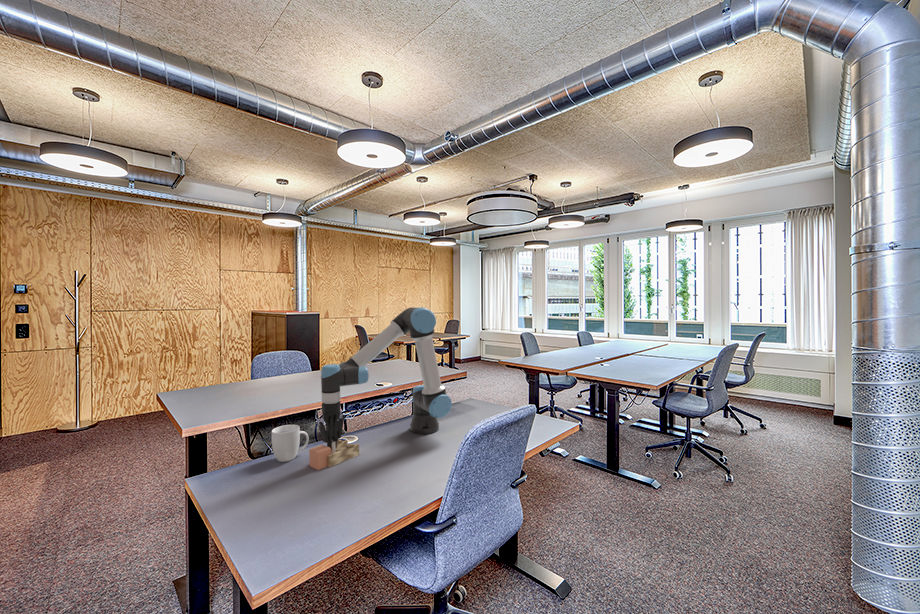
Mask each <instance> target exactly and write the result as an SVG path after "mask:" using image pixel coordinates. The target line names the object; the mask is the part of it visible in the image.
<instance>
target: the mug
mask: <svg viewBox="0 0 920 614" xmlns="http://www.w3.org/2000/svg"><path fill="white" fill-rule="evenodd" d="M300 429H301V428H300V425H298V424H285V425H280V426H278V427H274V428H273V429H272V430H271V448H272V452H273V456H274V457H275V458H276V460H277V461H278V462H280V463H285V462H290V461H293V460H294V459H295V458H296V457H297V454H298V452H301V451H303V450H304V449H305V448H306V447H307V446H308V445H309V441H310V440H309V439H310V437H309V435H308V433H307V432H306V431H303V430H300ZM302 434H303V435H305V439H306V440H305V443H304V444H303V445H302V447H300V441H301V440H300V439H301V437H300V436H301V435H302Z"/></svg>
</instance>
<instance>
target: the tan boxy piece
mask: <svg viewBox="0 0 920 614" xmlns="http://www.w3.org/2000/svg"><path fill="white" fill-rule="evenodd" d="M359 455H360V444H359V443H356V444H354V443H348V440H347V439H346V440H342V439H340V438H339V439H338V441H337V448H336V453H333V454H331V455H328V466H327V468H331V467H334V466H336V465H338V464H341V463H343V462H346V461H348V460H350V459H353V458H354V457H358V456H359Z"/></svg>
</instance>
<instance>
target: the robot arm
mask: <svg viewBox="0 0 920 614" xmlns="http://www.w3.org/2000/svg"><path fill="white" fill-rule="evenodd" d="M436 318H437V317H436V316H435V313H434V312H433V311H432V310H431V309H429V308H425V307H408V308H406V309H404V310H403V311H401V312H400V313H398V315H397V316H396V317H394V318H393V319H392V320H391V321H390V323H389V325H388V326H387V327H386V328H384V329H383V330H382V331H381V332H380V333H378V334H377V335H376V336H375V337H373V339H372V340H370V341H369V342H367V344H365V345H364V346H363V347H362V348H360V349H359V351H357V352H355V354H354V355H352V356H351V357H350V358H349V359H347V360H346V361H344V362H341V363H340V364H338V363H337V364H336V363H335V364H334V363H332V364H331V363H330V364H329V363H328V364H324V365H323V366H322V367H321V369H320V373H321V374H320V380H321V383H320V386H321V402H322V403H321V412H322V415H321V419H319V420H317V421H316V425H317V426H318V429H319V433H320V436H321V437H320V438H321V439H322V442H324V443H326V446H327V447H330V448H331V454H333V453H336V448H337V441H338V440H339V439H340V438H342V434H343V433H342V432H343V427H344V421H345V418H346V414H343V413H342V412H341V387H344V386H345V387H346V386H347V387H348V386H355V385H356V386H357V385H363V384H366V383H368V381H369V377H370V376H369V370H368V367H367V365H368V364H369V363H371V362H372V361H373V360H374V359H375V358H377V357H378V356H379V355H380V354H381V353H383V351H385V350H386V349H387V348H388V347H390V345H392V344H393V343H394V342H396V340H397V339H398V338H399V337H404V336H405V335H406V334H408V333H409V335H410V336H409V337H410V338H411V339H412V340H413V341H414V344H415V345H414V346H415V348H416V353H417V360H418V365H419V369H420V373H421V379H422V383H423V384H419V385H415V386H413V388H412V393H411V394H412V417H411V421H410V425H409V431H410V432H411V433H413V434H418V435H419V434H420V435H425V434H428V435H429V434H433V433H435V432H437V431H439V430H440V423H439V422H438V419H441V418H445V417H446V416H447V415H448V414H449V413H450V411H451V410H452V406H453V402H452V399H451V397H450V396H449V395H448V394H447V390H446V386H445V385H443V383H442V381H441V376H440V372H439V371H440V370H439V366H438V361H437V354H436V348H435V345H434V344H435V343H434V340H433V337H434V335H435V327H436V326H437V319H436Z"/></svg>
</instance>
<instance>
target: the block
mask: <svg viewBox="0 0 920 614" xmlns="http://www.w3.org/2000/svg"><path fill="white" fill-rule="evenodd" d="M308 452H309V455H308V457H309V468H312V469H315V470H317V471H320V470H322V469H325V468H326V467H327V468H328V455H331V448H330V447H327V445H324V444H320V445H317V446H315V447H312V448H310V449H308Z"/></svg>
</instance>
